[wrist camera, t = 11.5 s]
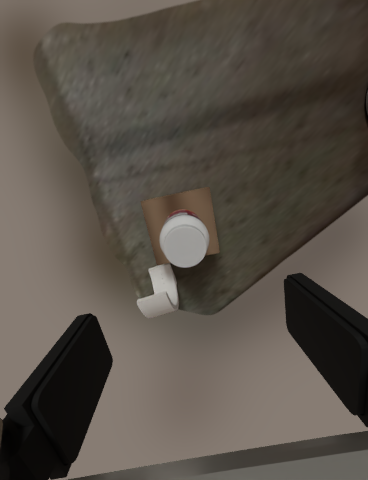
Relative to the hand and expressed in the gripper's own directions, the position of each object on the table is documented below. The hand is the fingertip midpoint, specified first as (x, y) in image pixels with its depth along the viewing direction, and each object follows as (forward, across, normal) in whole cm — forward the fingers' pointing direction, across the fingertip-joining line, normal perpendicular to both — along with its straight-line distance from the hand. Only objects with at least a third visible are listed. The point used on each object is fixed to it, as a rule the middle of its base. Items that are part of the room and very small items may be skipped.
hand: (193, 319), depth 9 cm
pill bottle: (+22, 0, 0) cm, 22 cm away
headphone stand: (+28, +6, +11) cm, 31 cm away
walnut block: (+28, 0, 0) cm, 28 cm away
